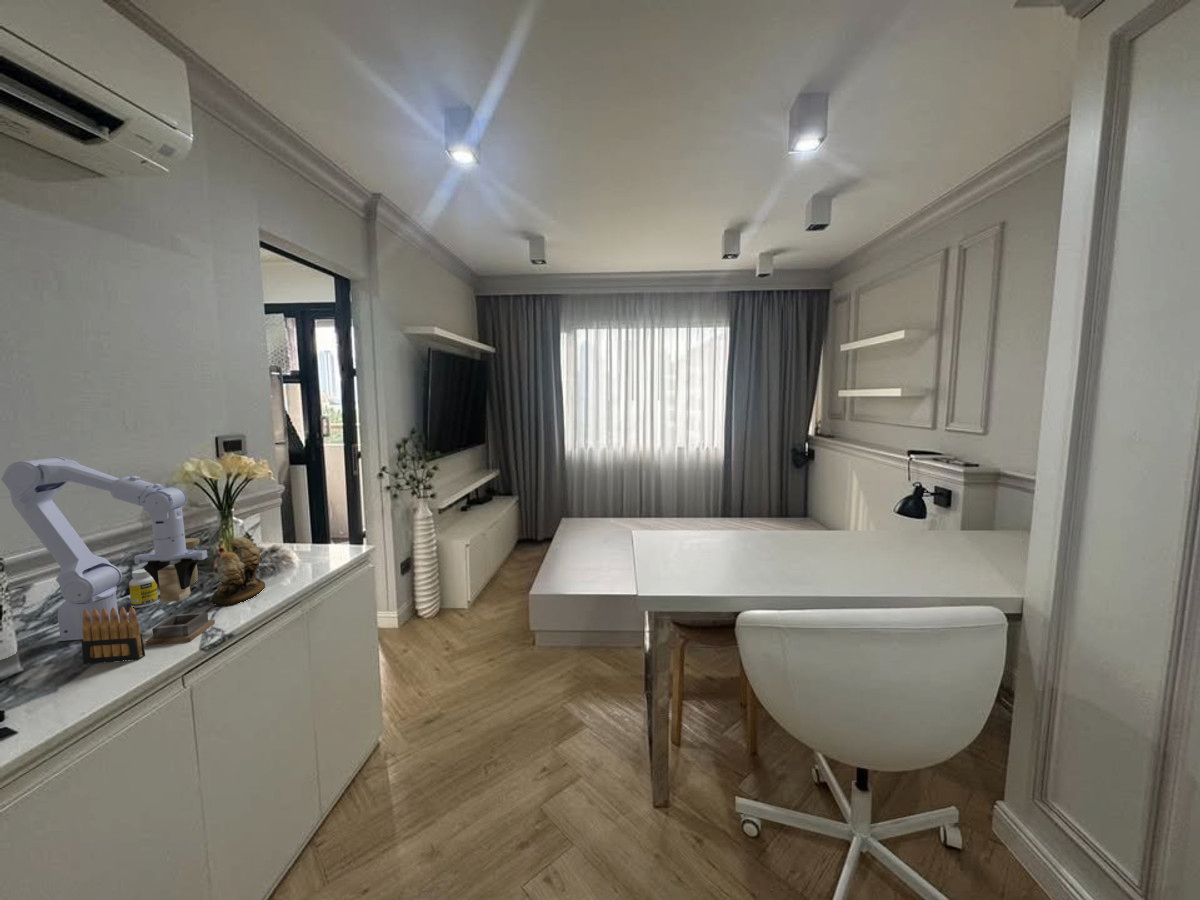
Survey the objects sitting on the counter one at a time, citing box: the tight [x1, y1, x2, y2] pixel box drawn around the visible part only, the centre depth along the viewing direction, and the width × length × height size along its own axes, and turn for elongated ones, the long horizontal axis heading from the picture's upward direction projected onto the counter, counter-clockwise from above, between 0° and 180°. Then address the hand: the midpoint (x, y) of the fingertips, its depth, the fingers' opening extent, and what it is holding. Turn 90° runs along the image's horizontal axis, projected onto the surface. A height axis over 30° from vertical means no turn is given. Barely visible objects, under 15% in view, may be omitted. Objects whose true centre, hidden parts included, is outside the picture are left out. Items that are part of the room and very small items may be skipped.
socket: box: [145, 611, 216, 646], centre depth 111 cm, size 9×9×4 cm
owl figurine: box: [210, 537, 266, 607], centre depth 134 cm, size 18×12×17 cm, turn 22°
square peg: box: [158, 564, 192, 603], centre depth 115 cm, size 4×4×8 cm
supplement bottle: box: [128, 568, 159, 609], centre depth 128 cm, size 5×5×10 cm
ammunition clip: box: [81, 605, 146, 665], centre depth 100 cm, size 11×2×12 cm, turn 98°
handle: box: [179, 537, 200, 584], centre depth 138 cm, size 5×6×15 cm
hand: (175, 588), depth 115 cm, fingers closed on square peg, 4 cm apart
